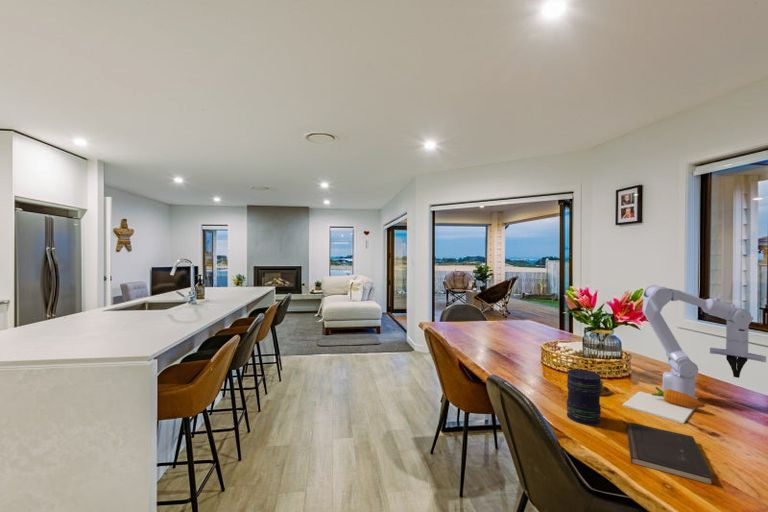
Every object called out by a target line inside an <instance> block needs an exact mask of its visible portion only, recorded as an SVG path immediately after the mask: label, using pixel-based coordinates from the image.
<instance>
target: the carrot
mask: <svg viewBox="0 0 768 512" xmlns="http://www.w3.org/2000/svg"><path fill="white" fill-rule="evenodd" d="M654 388H655V390H656V391H657V392H654V393H650V394H652V395H653V396H660V397H663V398H664V400H665V401H666V402H668V403H671V404H675V405H679V406H684V407H690V408H695V409H697V408H705V407H706V405H705V404H704V403H703V402H702V401H700V400H698V399H695V398H693V397H691V396H689V395H686V394H684V393H681V392H678V391H675V390H671V389H666V390H665V391H664V392H663V391H662V389H661V388H659V387H658V386H655V387H654Z"/></svg>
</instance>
